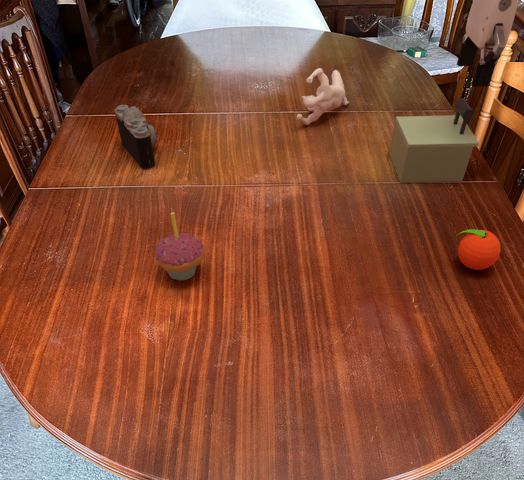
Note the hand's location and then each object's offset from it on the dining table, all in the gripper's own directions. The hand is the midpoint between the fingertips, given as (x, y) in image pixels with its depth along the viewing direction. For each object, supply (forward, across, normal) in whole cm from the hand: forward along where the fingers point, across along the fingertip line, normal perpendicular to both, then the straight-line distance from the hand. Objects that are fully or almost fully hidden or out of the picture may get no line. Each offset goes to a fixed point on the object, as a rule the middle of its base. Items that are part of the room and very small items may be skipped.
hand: (471, 75), depth 100 cm
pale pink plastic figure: (+20, +26, +25) cm, 41 cm away
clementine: (+19, -34, +5) cm, 40 cm away
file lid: (+11, 0, +4) cm, 12 cm away
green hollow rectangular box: (+19, 0, +5) cm, 20 cm away
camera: (+20, +9, +69) cm, 72 cm away
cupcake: (+20, -34, +57) cm, 69 cm away
